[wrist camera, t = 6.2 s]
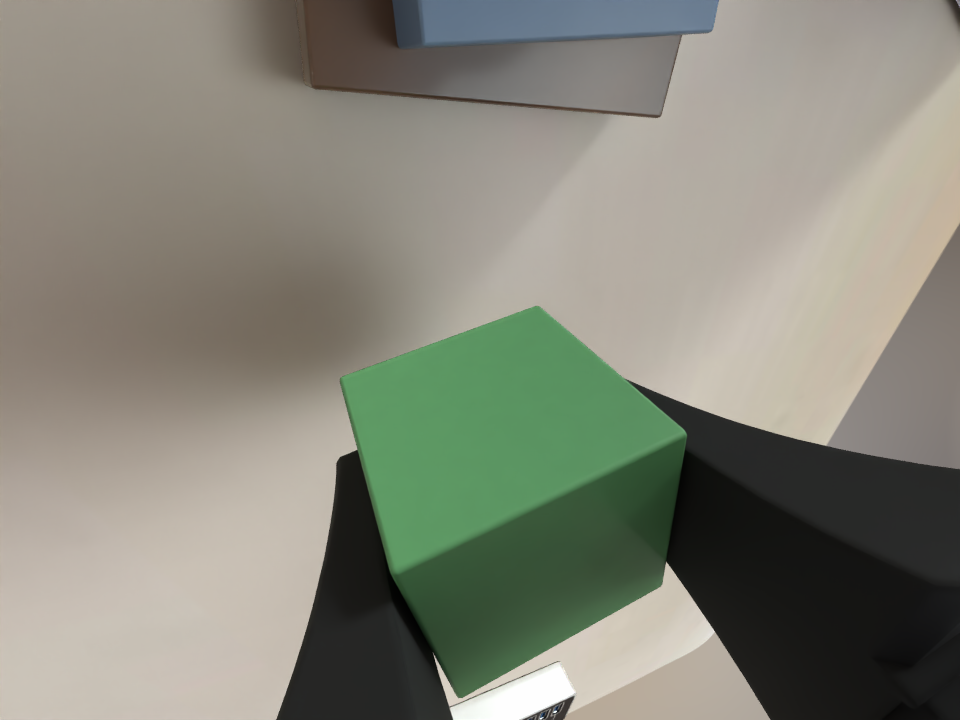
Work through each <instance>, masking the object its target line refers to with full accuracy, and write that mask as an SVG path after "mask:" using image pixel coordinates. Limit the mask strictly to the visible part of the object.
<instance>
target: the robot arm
mask: <svg viewBox="0 0 960 720" xmlns="http://www.w3.org/2000/svg"><path fill="white" fill-rule="evenodd" d="M956 1H957V3H958V5H959V7H960V0H956ZM625 380H626V379H625ZM626 381H628V382H629V383H630V384H631V385H632V386H633V387H635V388H636V389H637V390H638V391H639V392H640V393H642V394H643V395H644V396H645V397H646V398H647V399H649V400H650V401H651V402H652V403H653V404H654V405H656V406H657V407H658V408H659V409H660V410H662V411H663V412H664V413H665V414H666V415H667V416H669V417H670V418H671V419H672V420H673V421H674V422H676V423H677V424H678V425H679V426H680V427H681V428H683V429H684V430H685V432H686V434H687V439H686V445H685V451H684V457H683V463H682V469H681V475H680V481H679V487H678V493H677V499H676V505H675V511H674V517H673V523H672V529H671V535H670V541H669V547H668V553H667V558H666V562H667V563H668V564H669V566H670V567H671V569H672V570H673V571H674V573H675V574H676V576H677V577H678V578H679V580H680V581H681V583H682V584H683V585H684V587H685V588H686V590H687V591H688V593H689V594H690V595H691V597H692V598H693V600H694V601H695V603H696V604H697V606H698V607H699V609H700V610H701V612H702V613H703V615H704V616H705V618H706V619H707V620H708V622H709V623H710V625H711V626H712V628H713V629H714V631H715V632H716V634H717V635H718V637H719V638H720V640H721V641H722V643H723V645H724V646H725V648H726V649H727V651H728V652H729V654H730V655H731V657H732V658H733V660H734V662H735V663H736V665H737V666H738V668H739V669H740V671H741V672H742V674H743V676H744V677H745V679H746V680H747V682H748V684H749V685H750V687H751V688H752V690H753V692H754V693H755V695H756V697H757V698H758V700H759V701H760V703H761V705H762V706H763V708H764V710H765V711H766V713H767V715H768V716H769V718H770V719H771V720H960V469H953V468H946V467H938V466H930V465H924V464H917V463H912V462H906V461H900V460H894V459H888V458H883V457H876V456H871V455H866V454H861V453H856V452H851V451H846V450H841V449H836V448H832V447H828V446H824V445H819V444H815V443H811V442H806V441H802V440H798V439H794V438H790V437H786V436H782V435H779V434H775V433H772V432H768V431H765V430H761V429H758V428H755V427H751V426H748V425H744V424H741V423H738V422H735V421H732V420H729V419H725V418H722V417H720V416H717V415H714V414H711V413H708V412H706V411H703V410H700V409H697V408H695V407H692V406H689V405H687V404H684V403H681V402H679V401H676V400H674V399H671V398H669V397H666V396H664V395H661V394H659V393H657V392H654V391H652V390H649V389H647V388H645V387H642V386H640V385H638V384H636V383H633V382H631V381H629V380H626ZM276 720H453V717H452V714H451V711H450V708H449V705H448V702H447V699H446V695H445V692H444V689H443V686H442V683H441V680H440V677H439V673H438V670H437V666H436V662H435V659H434V655H433V651H432V649H431V648H430V646H429V644H428V642H427V640H426V638H425V636H424V635H423V633H422V631H421V629H420V627H419V625H418V623H417V622H416V620H415V618H414V616H413V614H412V612H411V611H410V609H409V607H408V605H407V603H406V601H405V599H404V598H403V596H402V594H401V592H400V590H399V588H398V586H397V585H396V583H395V581H394V579H393V577H392V575H391V573H390V570H389V567H388V563H387V559H386V555H385V551H384V548H383V544H382V540H381V536H380V533H379V529H378V525H377V521H376V517H375V514H374V510H373V506H372V502H371V498H370V495H369V491H368V487H367V483H366V479H365V476H364V472H363V468H362V464H361V460H360V457H359V453H358V450H356V451H354V452H351V453H349V454H347V455H344V456H342V457H340V458H339V460H338V461H337V465H336V485H335V495H334V503H333V511H332V518H331V524H330V529H329V535H328V540H327V546H326V552H325V557H324V561H323V566H322V570H321V574H320V578H319V582H318V587H317V591H316V595H315V599H314V603H313V607H312V611H311V615H310V618H309V622H308V625H307V629H306V632H305V636H304V639H303V642H302V646H301V649H300V652H299V655H298V658H297V662H296V665H295V668H294V671H293V674H292V677H291V680H290V683H289V685H288V688H287V691H286V694H285V697H284V700H283V702H282V705H281V708H280V711H279V714H278V717H277V719H276Z"/></svg>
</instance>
